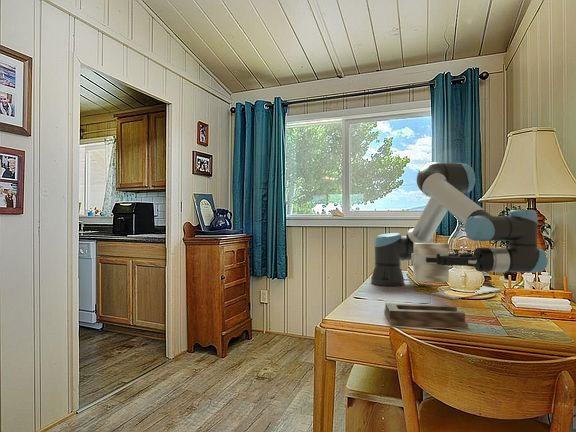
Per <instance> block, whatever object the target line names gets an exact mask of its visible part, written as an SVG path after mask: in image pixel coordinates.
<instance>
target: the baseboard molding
mask: <svg viewBox="0 0 576 432" xmlns="http://www.w3.org/2000/svg"><path fill="white" fill-rule="evenodd" d="M500 288H502V287H501V286H499V288H498V287H497V288H496V287H491V283H486V285H482V287H481V288H480V290H478V291H477V292H475V294H479V293H486V292H492V291H494V293H500V292H502V289H500ZM452 290H453V289H450V290H448V291H452ZM444 291H445V290H444ZM444 291H443V290H442V291H438V292H437V291H436V292H432V293H430V295H432V296H435V297H441V298H444V299H449V300H452V301H454V300H458V299H459V298H458V297H457V296H452V295H448V294H446V293H444Z"/></svg>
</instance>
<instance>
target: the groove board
mask: <svg viewBox="0 0 576 432" xmlns="http://www.w3.org/2000/svg"><path fill="white" fill-rule="evenodd" d="M383 311H384V312H383V313H384V314H385V316H386V319H387V320H388V323H389V325H390V326H406V327H426V328H427V327H428V328H429V327H430V328H451V327H461V328H460V329H469V327H468V326H469V324H468V323H467V322H466V313H465V312H464V311H458V306H456V305H454V304H453V305H452V304H451V305H448V304H418V303H417V304H416V303H394V302H393V303H391V302H389V303H387V302H386V303H385V308H384V309H383Z"/></svg>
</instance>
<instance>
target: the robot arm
mask: <svg viewBox="0 0 576 432" xmlns="http://www.w3.org/2000/svg"><path fill="white" fill-rule="evenodd" d="M416 184H417V185H416V186H417V187H418V189H419V190H420V191H421V192H422V194H424V195H425V196H426V197H429V199H428V201H427V204H426V205H425V208H423V209H424V210H423V211H422V212H421V215H420V217H419V219H418V220H417V222H416V224H415V226H414V227H413V228H410V229H409V230H408V232H407V234H406V235H402V234H401V233H400V232H390V233H382V234H378V235H376V236H375V240H374V268H373V271H372V274H371V278H370V283H371V284H373V285H376V286H382V287H383V286H385V287H386V286H387V287H398V286H399V287H401V286H404V285H405V278H404V273H403V272H402V269H401V263H402V262H401V261H411V263H413V243H434V240H433V236H434V234H435V232H436V231H437V230H438V227H439V225H440V224H441V222H442V221H443V219H444V217H445V215H446V214H447V212H449V213H450V214H451V215H452V216H453V217H455V218H456V219H457V220H458V221H459V222H460V223H462V224H463V225H464V233H466V237H467V238H468V239H469V240H471V241H476V242H490V241H491V242H498V241H500V242H501V241H502V242H503V241H508V245H509V247H490V248H489V247H476V248H475V249H474V251H473V253H470V252H454V253H451V252H449V256H440V254H437V258H436V255H414V264H436V263H437V264H438V265H440V264H441V265H449V266H459V267H462V266H463V267H464V266H465V267H474V269H475V270H476V271H477V272H483V273H484V272H485V273H486V272H487V273H488V272H489V273H490V272H493V273H494V272H495V273H496V272H497V274H502V272H503V273H526V274H528V273H541V272H543V271H545V270H546V268H547V266H548V262H549V261H548V257H547V253H546V251H545V250H544V249H542V248H539V246H538V227H539V226H538V225H539V222H538V221H539V220H538V213H537V211H536V210H534V209H511V210H510V211H509V212H508V215H492V214H490V213H489V212H488V211H486V210H485V209H483V207H481V206H480V205H479V204H478V203H476V202H475V201H474V200H472V199H471V198H470V197H468V196H466V195H465V194H467V193H470V192H471V191H472V190H473V189H474V187H475V184H476V174H475V170H474V169H473V167H472V166H470V165H469V164H468V163H462V162H457V163H456V162H455V163H454V162H438V161H437V162H436V161H435V162H430V163H426V164H425V165H423V166H422V167H421V168H420V170H419V171H418V173H417V176H416Z"/></svg>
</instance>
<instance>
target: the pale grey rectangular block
mask: <svg viewBox="0 0 576 432" xmlns="http://www.w3.org/2000/svg"><path fill="white" fill-rule="evenodd" d="M449 245H450V244H449V243H446V242H433V243H413V262H412V263H413V266H412V267H413V269H412V271H413V273H412V276H413V278H412V279H413V281H415V282H417V283H418V282H420V283H421V282H423V283H425V282H426V283H429V282H430V283H449V281H450V280H449V279H450V278H449V275H450V274H449V273H450V272H449V270H450V269H449V267H450V265H441V264H440V265H438V264H437V263H436V264H414V255H436V258H437V254H440V256H449V253H450V250H449V249H450V246H449Z"/></svg>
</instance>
